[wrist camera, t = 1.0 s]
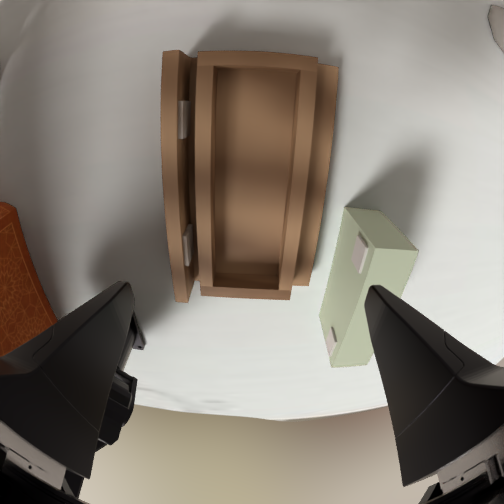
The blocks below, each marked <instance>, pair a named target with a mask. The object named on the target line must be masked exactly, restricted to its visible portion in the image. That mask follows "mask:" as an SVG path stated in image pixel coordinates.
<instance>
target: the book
mask: <svg viewBox="0 0 504 504" xmlns="http://www.w3.org/2000/svg"><path fill="white" fill-rule="evenodd" d="M56 322H58V320H57V318H56V316H55V314H54V312H53V310H52V308H51V306H50V304H49V302H48V300H47V297H46V295H45V293H44V291H43V288H42V286H41V283H40V281H39V279H38V276H37V273H36V271H35V268H34V266H33V263H32V260H31V257H30V254H29V251H28V249H27V245H26V242H25V239H24V236H23V233H22V229H21V226H20V222H19V218H18V214H17V210H16V208H15V207H13V206H12V205H10V204H8V203H5V202H0V357H1V356H4V355H6V354H8V353H9V352H11V351H13V350H14V349H16V348H18V347H19V346H21V345H23V344H24V343H26V342H28V341H29V340H31V339H32V338H34V337H36V336H37V335H39V334H40V333H42V332H43V331H45V330H46V329H48V328H49V327H50V326H52V325H54V324H55V323H56Z"/></svg>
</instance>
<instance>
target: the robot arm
mask: <svg viewBox="0 0 504 504" xmlns="http://www.w3.org/2000/svg"><path fill="white" fill-rule="evenodd" d="M134 305H135V299H134V296H133V292H132V289H131V286H130V283H129V282H124V281H119V282H117V283H115V284H114V285H112V286H111V287H109V288H108V289H106V290H104V291H103V292H101V293H100V294H98V295H97V296H95V297H94V298H92V299H91V300H89V301H88V302H86V303H84V304H83V305H81V306H80V307H78V308H77V309H75V310H74V311H72V312H71V313H69V314H68V315H67V316H65V317H64V318H62V319H61V320H59V321H58V322H56V323H55V324H54V325H52V326H50V327H49V328H48V329H46V330H45V331H43V332H42V333H40V334H39V335H37V336H36V337H34V338H32V339H31V340H29V341H28V342H26V343H24V344H23V345H21V346H19V347H18V348H16V349H14V350H13V351H11V352H9V353H8V354H6V355H4V356H1V357H0V504H89V503H87V502H84V501H82V500H80V499H78V498H79V494H80V490H81V487H82V483H83V480H84V477H85V478H87V479H90V476H91V470H92V465H93V460H94V454H95V452H96V451H98V450H100V449H101V448H103V447H104V446H106V445H107V444H108V445H112V444H113V443H114V442H115V441H117V440H118V438H119V434H120V431H121V427H123V426H124V425H125V424H126V423H127V422H128V420H129V418H130V416H131V414H132V411H133V408H134V401H135V393H136V386H137V379H136V378H135V377H132V376H130V375H128V374H127V373H125V372H123V371H124V368H125V365H126V363H127V360H128V358H129V355H130V352H131V350H132V348H133V349H139V350H143V349H144V343H143V340H142V337H141V334H140V331H139V327H138V324H137V321H136V318H135V314H134V312H133V309H134ZM364 309H365V313H366V318H367V323H368V329H369V334H370V339H371V343H372V347H373V350H374V354H375V357H376V360H377V364H378V368H379V371H380V375H381V379H382V383H383V386H384V390H385V394H386V398H387V403H388V407H389V411H390V415H391V420H392V425H393V430H394V435H395V440H396V446H397V451H398V457H399V463H400V470H401V476H402V483H403V486H404V487H405V486H408V485H411V484H413V483H416V482H418V481H421V480H423V479H426V478H428V477H430V476H433V475H435V474H438V478H439V482H438V483H436V484H434V485H432V486H430V487H428V489H427V491H426V493H425V494H424V496H423V498H422V499H421V501H420V502H419V504H504V367H500V366H496V365H494V364H492V363H491V362H489V361H488V360H486V359H485V358H483V357H482V356H480V355H479V354H477V353H476V352H474V351H472V350H471V349H469V348H468V347H466V346H465V345H464V344H462V343H461V342H459V341H458V340H456V339H455V338H454V337H452V336H451V335H450V334H448V333H447V332H446V331H444V330H443V329H442V328H440V327H439V326H438V325H436V324H435V323H434V322H432V321H431V320H429V319H428V318H427V317H425V316H424V315H423V314H421V313H420V312H418V311H417V310H416V309H414V308H413V307H412V306H410V305H409V304H407V303H406V302H404V301H403V300H402V299H400V298H399V297H397V296H396V295H394V294H393V293H392V292H390V291H389V290H387V289H386V288H384V287H383V286H381V285H371V286H370V287H369V289H368V293H367V296H366V299H365V303H364Z"/></svg>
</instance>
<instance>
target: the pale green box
mask: <svg viewBox="0 0 504 504" xmlns="http://www.w3.org/2000/svg"><path fill="white" fill-rule="evenodd" d="M418 252H419V251H418V249H417V248H416V247H415V246H414V245H413V244H412V243H411V242H410V241H409V240H408V239H407V237H406V236H405V235H404V234H403V233H402V232H401V231H400V230H399V229H398V228H397V227H396V226H395V225H394V224H393V223H392V222H391V221H390V220H389V219H388V218H387V217H386V216H385V215H384V214H383V213H382V212H381V211H377V210H369V209H360V208H350V207H344V211H343V216H342V221H341V226H340V231H339V236H338V240H337V245H336V250H335V254H334V258H333V263H332V267H331V271H330V275H329V279H328V283H327V287H326V291H325V295H324V299H323V303H322V306H321V310H320V313H319V317H320V321H321V325H322V330H323V334H324V338H325V342H326V346H327V351H328V355H329V359H330V364H331V368H336V367H350V366H362V365H367V364H368V362H369V360H370V358H371V357H372V355H373V353H374V350H373V347H372V343H371V339H370V334H369V329H368V323H367V318H366V313H365V309H364V303H365V299H366V296H367V293H368V289H369V287H370V286H371V285H381V286H383V287H384V288H386V289H387V290H389V291H390V292H392V293H393V294H394V295H396V296H397V297H399V298H401V295H402V293H403V291H404V288H405V286H406V284H407V281H408V279H409V276H410V273H411V271H412V268H413V266H414V263H415V260H416V257H417V255H418Z"/></svg>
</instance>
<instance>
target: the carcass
mask: <svg viewBox="0 0 504 504" xmlns="http://www.w3.org/2000/svg"><path fill="white" fill-rule="evenodd" d="M338 69H339V67H335V66H330V65H324V64H318V58H317V57H310V56H303V55H295V54H286V53H276V52H261V51H200V52H198V57H196V58H190V57H189V56H188V55H186V54H185V53H183V52H182V51H180V50H172V51H164V52H163V57H162V77H161V158H162V179H163V195H164V208H165V220H166V230H167V240H168V249H169V257H170V265H171V273H172V280H173V287H174V294H175V300H176V302H185V303H188V301H189V297H190V294H191V291H192V287H193V284H194V281H200V290H201V296H214V297H230V298H250V299H273V300H290V295H291V290H292V285H295V286H309V282H310V277H311V272H312V267H313V262H314V257H315V252H316V246H317V241H318V235H319V230H320V224H321V218H322V212H323V205H324V199H325V192H326V186H327V178H328V171H329V164H330V156H331V148H332V139H333V130H334V120H335V109H336V98H337V84H338Z"/></svg>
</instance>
